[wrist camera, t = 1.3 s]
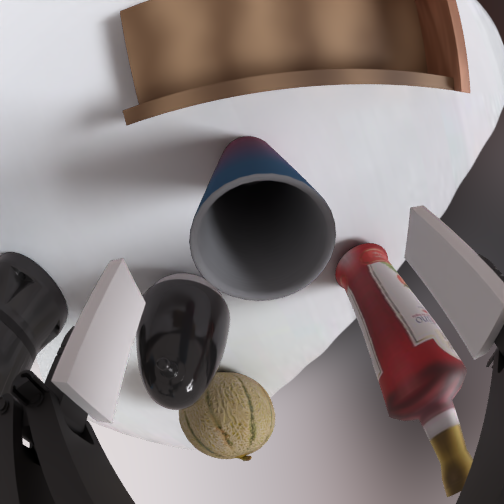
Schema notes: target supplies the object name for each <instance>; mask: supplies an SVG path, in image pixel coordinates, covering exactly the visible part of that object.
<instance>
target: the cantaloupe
mask: <svg viewBox="0 0 504 504" xmlns="http://www.w3.org/2000/svg"><path fill="white" fill-rule="evenodd" d="M179 421H180V425H181V428H182V430H183V432H184V434H185V435H186V437H187V439H188V440H189V441H190V442H191V443H192V445H193V446H194V447H195V448H197V449H198V450H199V451H201V452H202V453H204V454H206V455H209V456H212V457H215V458H220V459H232V458H240V459H242V460H243V461H249V460H250V459H251V456H246V455H248V454H250V453H253V452H255V451H256V450H258V449H260V448H261V447H262V446H263V445H264V444H265V443H266V442H267V441H268V439H269V437H270V436H271V434H272V432H273V428H274V424H275V413H274V408H273V405H272V402H271V399H270V397H269V395H268V393H267V392H266V391H265V389H264V388H263V387H262V386H261V385H260V384H259V383H257V382H256V381H255V380H253V379H251V378H249V377H247V376H245V375H242V374H238V373H232V372H228V373H226V372H217V373H216V375H215V378H214V380H213V382H212V383H211V385H210V387H209V389H208V390H207V392H206V393H205V394H204V396H203V397H202V398H201V399H200V400H199V401H198V402H197V403H196V404H195V405H193V406H191V407H189V408H186V409H182V410H179Z"/></svg>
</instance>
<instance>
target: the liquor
mask: <svg viewBox="0 0 504 504" xmlns="http://www.w3.org/2000/svg"><path fill="white" fill-rule="evenodd" d="M335 275H336V280H337V282H338V284H339V285H340V286H341V287H342V288H344V289H345V290H346V293H347V295H348V297H349V300H350V302H351V304H352V307H353V309H354V312H355V314H356V317H357V319H358V322H359V325H360V327H361V330H362V332H363V335H364V338H365V342H366V344H367V347H368V351H369V354H370V357H371V360H372V363H373V366H374V369H375V372H376V375H377V378H378V381H379V384H380V387H381V390H382V393H383V397H384V400H385V403H386V407H387V410H388V413H389V416H390V417H391V418H394V419H398V420H403V421H410V420H420V422H421V424H422V426H423V428H424V430H425V432H426V434H427V436H428V438H429V440H430V442H431V444H432V446H433V448H434V450H435V452H436V454H437V457H438V459H439V461H440V463H441V470H442V481H443V484H444V488H445V491H446V495H447V497H449V496H451V495H454V494H456V493H458V492H460V491H462V489H463V486H464V484H465V481H466V479H467V476H468V473H469V470H470V468H471V465H472V462H473V459H472V457H471V455H470V454H469V452H468V451H467V449H466V445H465V441H464V438H463V434H462V431H461V427H460V424H459V420H458V417H457V414H456V411H455V408H454V405H453V402H452V399H453V398H454V397H455V395H456V394H457V393H458V391H459V390H460V388H461V386H462V384H463V381H464V378H465V375H466V372H467V370H466V367H465V366H464V364H463V363H462V361H461V360H460V358H459V357H458V355H457V354H456V352H455V351H454V349H453V347H452V346H451V344H450V343H449V341H448V340H447V338H446V337H445V335H444V334H443V332H442V331H441V329H440V328H439V326H438V325H437V324H436V322H435V321H434V320H433V318H432V317H431V316H430V315H429V313H428V312H427V310H426V309H425V308H424V307H423V305H422V304H421V303H420V301H419V300H418V299H417V298H416V296H415V295H414V294H413V292H412V291H411V290H410V288H409V287H408V286H407V285H406V283H405V282H404V281H403V279H402V278H401V277H400V276H399V274H398V273H397V271H396V270H395V269H394V268H393V266H392V265H391V264H390V262H389V261H388V256H387V253H386V251H385V250H384V249H383V248H382V247H381V246H379V245H377V244H374V243H366V244H361V245H358V246H356V247H354V248H352V249H351V250H349V251H348V252H347V253H346V254H345V255H344V256H343V257H342V258H341V259H340V261H339V263H338V265H337V268H336V274H335Z"/></svg>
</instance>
